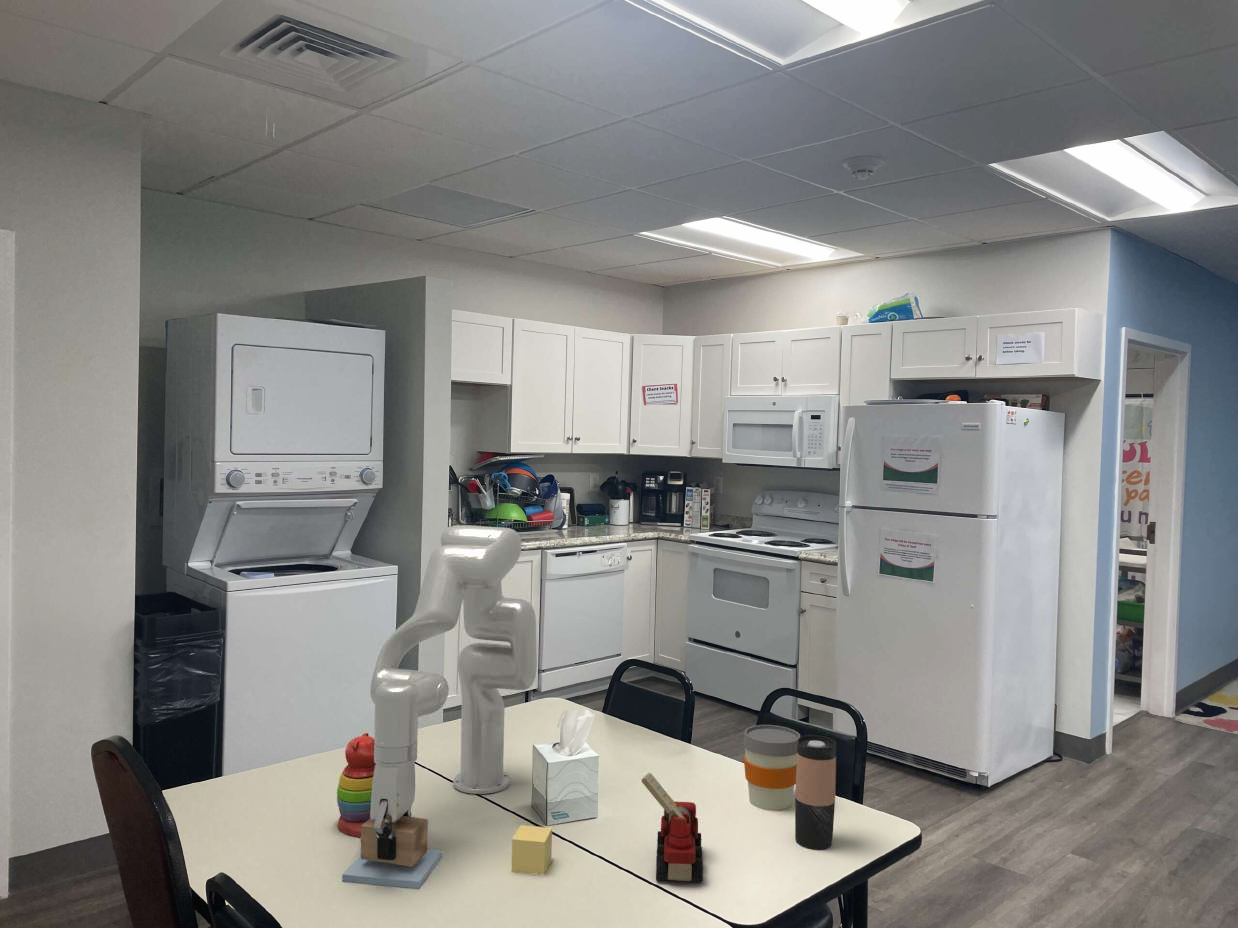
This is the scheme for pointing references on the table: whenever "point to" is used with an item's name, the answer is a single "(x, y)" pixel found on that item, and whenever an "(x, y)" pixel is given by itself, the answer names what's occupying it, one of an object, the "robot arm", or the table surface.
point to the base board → (393, 871)
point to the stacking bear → (356, 785)
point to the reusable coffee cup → (770, 765)
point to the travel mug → (815, 791)
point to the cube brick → (531, 849)
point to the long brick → (397, 840)
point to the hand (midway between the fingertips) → (394, 848)
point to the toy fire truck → (676, 837)
